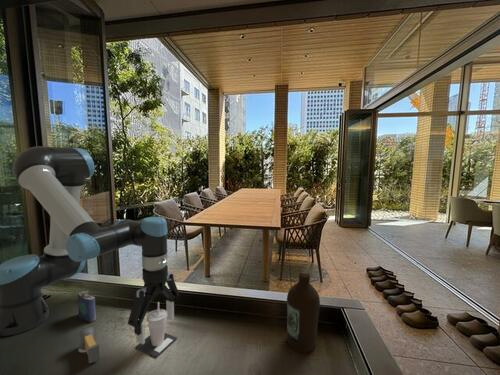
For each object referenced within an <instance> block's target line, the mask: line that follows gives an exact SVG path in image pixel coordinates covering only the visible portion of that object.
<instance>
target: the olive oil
mask: <svg viewBox="0 0 500 375" xmlns="http://www.w3.org/2000/svg"><path fill="white" fill-rule="evenodd" d="M310 277H311V276H310V271H309V270H308V269H305V268H304V269H300V270H299V274H298V281H297V282H296V283H295V284H294V285H292V286H291V287H290V288H289V290H288V292H287V296H286V315H287V316H286V326H287V327H286V328H287V329H286V333H287V334H286V340H287V344H288V346H289V347H290V348H291V349H292V350H294V351H296V352H299V353H305V354H307V353H310V352H312V351H314V350H315V348H316V344H317V336H318V335H317V334H318V323H319V316H320V307H321V306H320V305H321V300H320V296H319V292H318V291H317V290H316V288H315V287H314V286H313V285H312V284H311V283H310Z"/></svg>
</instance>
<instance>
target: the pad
mask: <svg viewBox="0 0 500 375" xmlns="http://www.w3.org/2000/svg"><path fill="white" fill-rule="evenodd" d="M177 340H178V337H176V336H174V335H171V334H169V333H166V332H165V334H164V342H163V344H161V345H160V346H153V345H152V343H151V337H150V335H148V336H147V337H145V343H144V344H141V343H138V344H137V345H136V346H135V349H137V350H139V351H141V352H143V353H145V354H148V355H149V356H152V357H153V358H155V359H157V358H159V357H160V355H162V354H163V353H164V352H165V351H166V350H167V349H168V348H169V347H171V345H172V344H173V343H174V342H176V341H177Z"/></svg>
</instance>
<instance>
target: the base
mask: <svg viewBox="0 0 500 375" xmlns="http://www.w3.org/2000/svg"><path fill="white" fill-rule="evenodd" d="M94 341H95V343H96V344H98V342H97V341H96V340H95V339H94ZM77 352H78V353H80V354H87V352H86V350H82V349H81V346H80V345H79V346H78V347H77Z"/></svg>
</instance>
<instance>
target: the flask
mask: <svg viewBox="0 0 500 375" xmlns="http://www.w3.org/2000/svg"><path fill="white" fill-rule="evenodd" d="M77 303H78V304H77V305H78V307H77V308H78V318H79V319H80V320H83V321H85V322H87V323H94V322H96V320H97V314H96V313H97V312H96V297H95V296H93V295H90V294H89V290H87V291H86V290H83V291H80V292H78V293H77Z"/></svg>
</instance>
